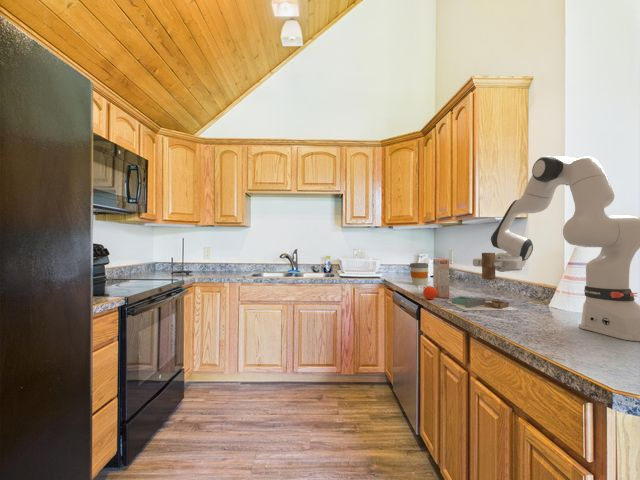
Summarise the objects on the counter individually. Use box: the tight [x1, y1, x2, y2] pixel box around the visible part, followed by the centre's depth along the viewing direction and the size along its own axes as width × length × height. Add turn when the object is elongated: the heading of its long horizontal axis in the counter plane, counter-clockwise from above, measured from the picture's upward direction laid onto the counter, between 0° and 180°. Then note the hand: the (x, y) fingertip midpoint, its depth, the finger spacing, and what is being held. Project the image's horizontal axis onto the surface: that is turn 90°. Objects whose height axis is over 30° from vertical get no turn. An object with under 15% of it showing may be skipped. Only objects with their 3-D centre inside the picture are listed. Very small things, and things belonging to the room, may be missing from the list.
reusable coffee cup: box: [409, 262, 429, 286], centre depth 228 cm, size 13×13×15 cm
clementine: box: [422, 285, 437, 301], centre depth 168 cm, size 8×7×7 cm
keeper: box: [484, 300, 510, 309], centre depth 143 cm, size 7×8×2 cm
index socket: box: [451, 296, 477, 305], centre depth 151 cm, size 8×8×2 cm
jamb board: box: [446, 298, 519, 313], centre depth 146 cm, size 20×23×4 cm
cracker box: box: [432, 257, 450, 299], centre depth 178 cm, size 14×6×21 cm, turn 171°
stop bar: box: [481, 252, 496, 281], centre depth 145 cm, size 4×4×12 cm
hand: (487, 263), depth 145 cm, fingers closed on stop bar, 4 cm apart
